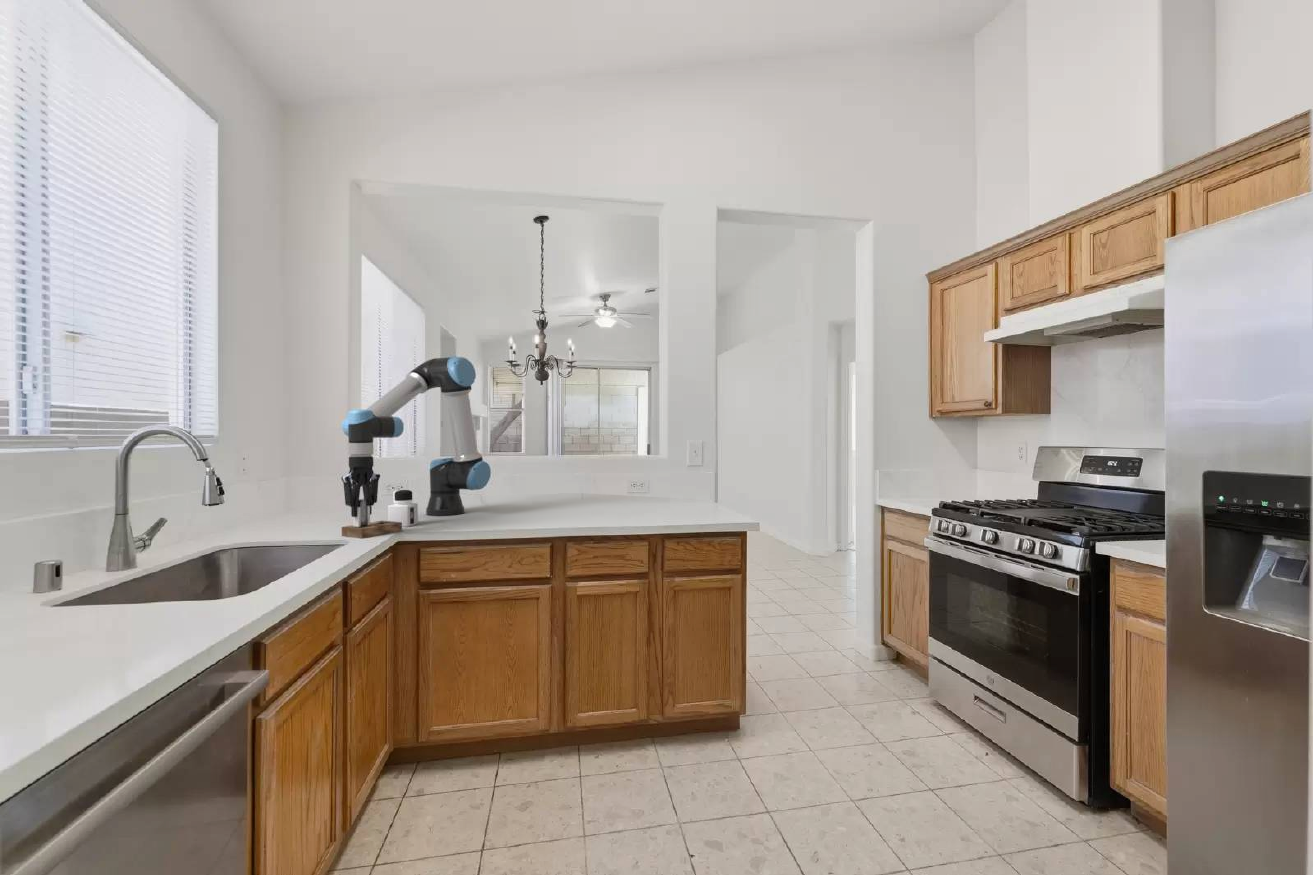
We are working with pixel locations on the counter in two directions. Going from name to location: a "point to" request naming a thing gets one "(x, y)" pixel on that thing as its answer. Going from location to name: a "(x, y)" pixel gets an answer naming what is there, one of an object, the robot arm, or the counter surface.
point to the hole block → (372, 529)
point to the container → (403, 509)
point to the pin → (363, 512)
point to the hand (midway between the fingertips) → (361, 525)
